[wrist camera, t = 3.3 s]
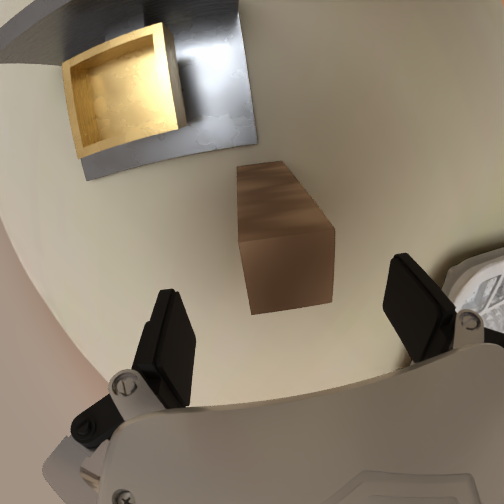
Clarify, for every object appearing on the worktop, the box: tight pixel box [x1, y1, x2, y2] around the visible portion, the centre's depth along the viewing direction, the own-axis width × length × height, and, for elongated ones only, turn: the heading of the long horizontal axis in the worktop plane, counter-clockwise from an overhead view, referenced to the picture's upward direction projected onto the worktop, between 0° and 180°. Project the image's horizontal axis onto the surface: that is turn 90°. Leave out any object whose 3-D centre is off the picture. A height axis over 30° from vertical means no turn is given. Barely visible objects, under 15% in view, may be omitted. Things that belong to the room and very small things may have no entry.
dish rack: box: [410, 247, 504, 366], centre depth 34 cm, size 32×37×8 cm
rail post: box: [237, 161, 335, 315], centre depth 18 cm, size 4×4×14 cm
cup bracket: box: [0, 0, 257, 181], centre depth 13 cm, size 16×14×12 cm
